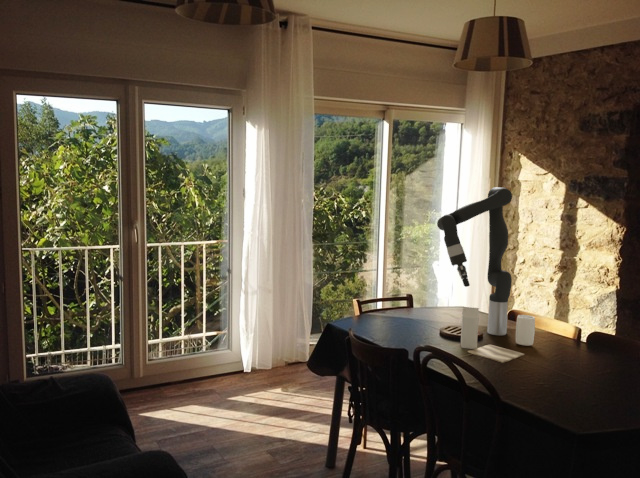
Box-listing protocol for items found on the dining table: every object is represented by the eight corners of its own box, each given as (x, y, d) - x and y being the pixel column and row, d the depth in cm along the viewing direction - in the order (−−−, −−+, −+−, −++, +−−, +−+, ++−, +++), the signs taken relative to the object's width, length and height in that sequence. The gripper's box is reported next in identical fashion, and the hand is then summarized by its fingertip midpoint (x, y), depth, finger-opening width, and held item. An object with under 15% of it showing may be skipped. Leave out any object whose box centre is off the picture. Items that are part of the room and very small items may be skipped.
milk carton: (476, 349, 262) (479, 309, 260) (461, 348, 263) (463, 308, 261) (475, 345, 269) (478, 306, 267) (460, 343, 270) (462, 305, 268)
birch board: (489, 345, 269) (489, 344, 269) (524, 355, 255) (524, 353, 255) (467, 352, 257) (467, 351, 257) (502, 362, 244) (502, 361, 244)
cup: (534, 344, 272) (536, 316, 271) (532, 349, 265) (534, 319, 263) (515, 342, 276) (517, 313, 274) (513, 346, 268) (515, 317, 267)
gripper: (464, 251, 267) (475, 284, 266) (463, 252, 281) (473, 283, 280) (449, 256, 269) (460, 288, 267) (448, 257, 283) (458, 288, 281)
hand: (467, 286), depth 273 cm, fingers open, 8 cm apart
